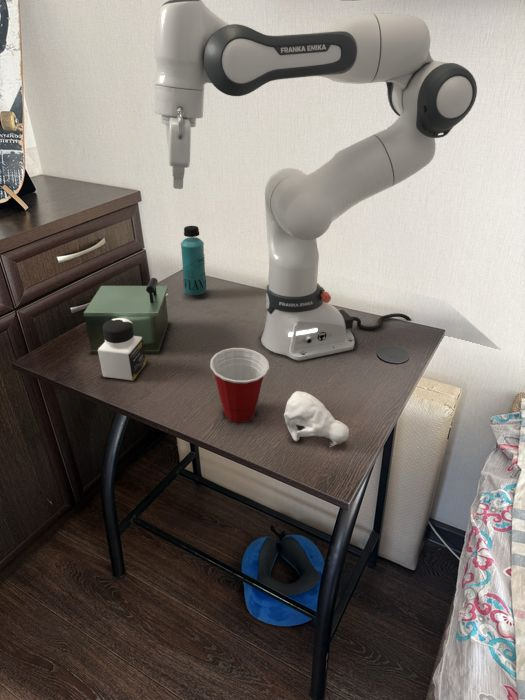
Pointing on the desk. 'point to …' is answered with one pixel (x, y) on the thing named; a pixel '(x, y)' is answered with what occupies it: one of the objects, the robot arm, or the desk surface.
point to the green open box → (143, 326)
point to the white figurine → (312, 419)
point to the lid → (128, 300)
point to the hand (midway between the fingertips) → (177, 182)
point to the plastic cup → (239, 381)
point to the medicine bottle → (121, 350)
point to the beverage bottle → (193, 262)
